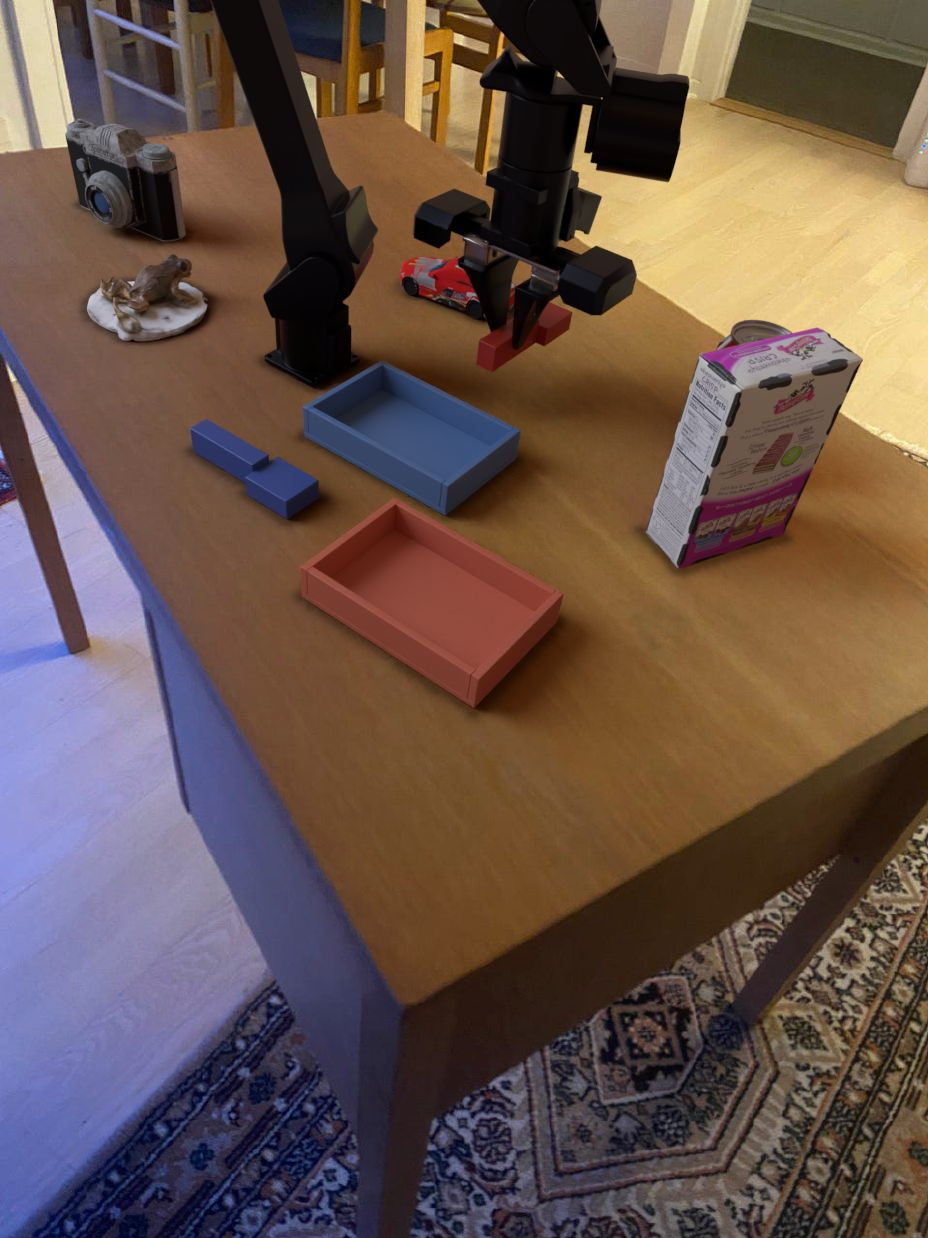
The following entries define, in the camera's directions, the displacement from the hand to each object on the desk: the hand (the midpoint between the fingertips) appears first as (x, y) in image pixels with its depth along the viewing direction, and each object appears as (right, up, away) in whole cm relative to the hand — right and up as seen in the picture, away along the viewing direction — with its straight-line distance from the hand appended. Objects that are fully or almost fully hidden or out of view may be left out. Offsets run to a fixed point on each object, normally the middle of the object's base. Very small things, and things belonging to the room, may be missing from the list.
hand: (508, 343), depth 80 cm
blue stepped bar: (-21, -13, -7) cm, 26 cm away
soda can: (+19, -10, +1) cm, 22 cm away
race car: (-5, +10, +16) cm, 19 cm away
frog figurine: (-35, +6, +9) cm, 37 cm away
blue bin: (-9, -10, -3) cm, 13 cm away
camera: (-42, +19, +20) cm, 50 cm away
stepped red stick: (+1, 0, +2) cm, 2 cm away
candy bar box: (+16, -18, -7) cm, 25 cm away
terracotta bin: (-6, -24, -16) cm, 29 cm away
